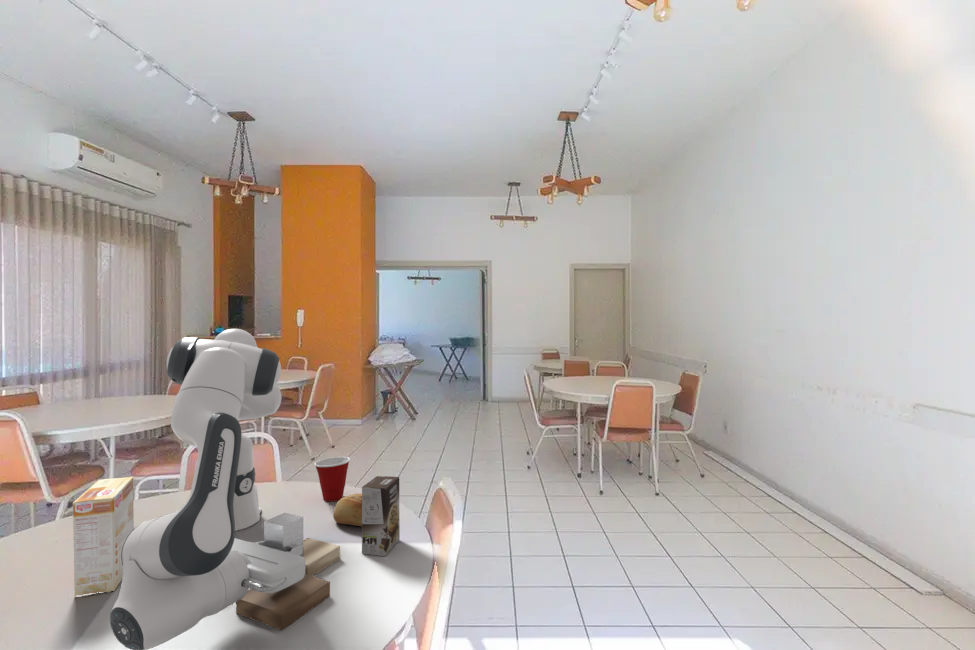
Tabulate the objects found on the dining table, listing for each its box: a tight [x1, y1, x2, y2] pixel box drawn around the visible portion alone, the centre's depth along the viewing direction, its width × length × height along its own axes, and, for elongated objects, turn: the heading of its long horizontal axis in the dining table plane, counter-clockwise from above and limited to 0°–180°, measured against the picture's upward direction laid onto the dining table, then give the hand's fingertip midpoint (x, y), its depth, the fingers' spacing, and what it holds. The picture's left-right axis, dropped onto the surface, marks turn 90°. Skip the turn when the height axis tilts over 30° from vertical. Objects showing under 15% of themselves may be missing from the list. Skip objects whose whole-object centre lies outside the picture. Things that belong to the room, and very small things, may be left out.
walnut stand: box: [235, 574, 331, 631], centre depth 97 cm, size 12×12×3 cm
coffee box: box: [361, 475, 401, 557], centre depth 121 cm, size 9×6×16 cm
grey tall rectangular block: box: [263, 512, 304, 557], centre depth 97 cm, size 5×5×12 cm
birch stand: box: [303, 537, 341, 577], centre depth 113 cm, size 10×10×3 cm
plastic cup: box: [313, 456, 351, 503], centre depth 154 cm, size 11×11×12 cm
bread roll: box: [332, 492, 362, 527], centre depth 135 cm, size 10×15×8 cm, turn 73°
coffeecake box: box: [71, 476, 135, 597], centre depth 107 cm, size 15×7×20 cm, turn 22°
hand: (287, 545), depth 98 cm, fingers closed on grey tall rectangular block, 5 cm apart
